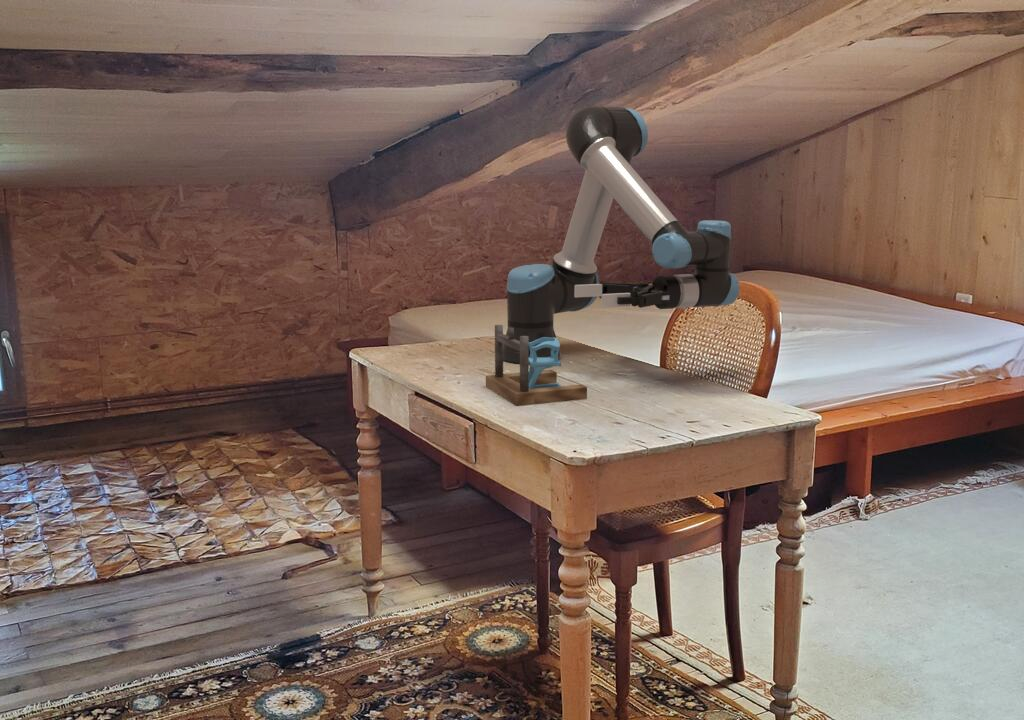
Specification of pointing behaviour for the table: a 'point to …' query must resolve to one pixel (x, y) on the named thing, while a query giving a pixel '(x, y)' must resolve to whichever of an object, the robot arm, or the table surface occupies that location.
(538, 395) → the wooden post frame
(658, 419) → the table surface
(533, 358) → the chair
